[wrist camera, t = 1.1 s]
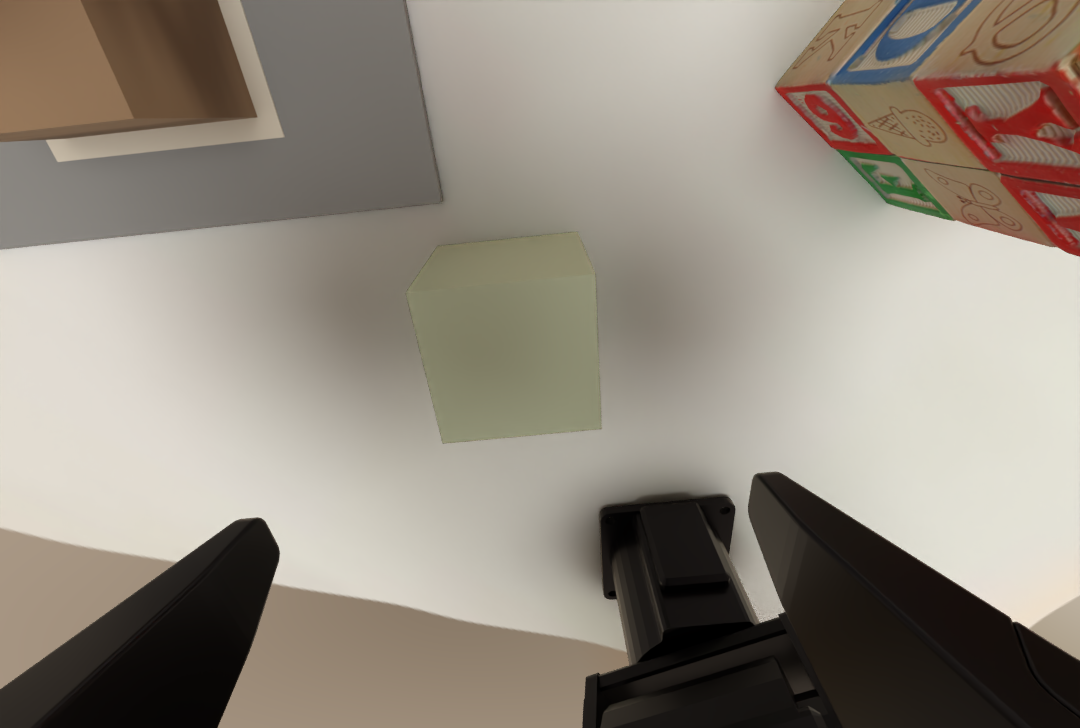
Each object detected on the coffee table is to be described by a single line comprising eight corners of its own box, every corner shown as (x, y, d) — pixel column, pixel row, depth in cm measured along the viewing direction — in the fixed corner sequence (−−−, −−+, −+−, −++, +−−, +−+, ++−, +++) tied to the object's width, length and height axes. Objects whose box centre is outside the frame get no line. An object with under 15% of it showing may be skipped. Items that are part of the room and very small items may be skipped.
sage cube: (584, 355, 19) (601, 429, 14) (462, 366, 19) (442, 443, 15) (577, 230, 16) (594, 274, 12) (437, 245, 17) (405, 292, 12)
